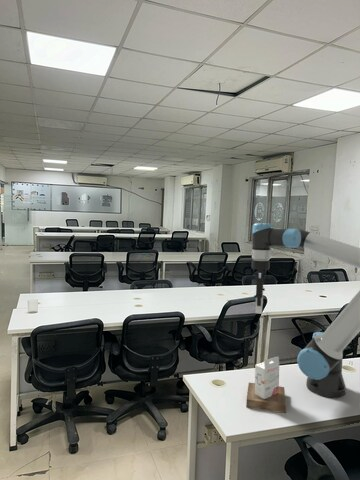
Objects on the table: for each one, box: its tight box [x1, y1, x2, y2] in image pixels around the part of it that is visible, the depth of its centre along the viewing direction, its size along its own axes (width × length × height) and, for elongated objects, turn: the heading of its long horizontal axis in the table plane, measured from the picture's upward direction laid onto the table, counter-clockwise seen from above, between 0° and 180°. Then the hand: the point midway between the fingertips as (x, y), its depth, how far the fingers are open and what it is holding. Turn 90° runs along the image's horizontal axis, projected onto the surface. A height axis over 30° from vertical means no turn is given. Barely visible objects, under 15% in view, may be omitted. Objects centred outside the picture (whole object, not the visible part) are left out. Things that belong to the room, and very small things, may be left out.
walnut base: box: [245, 382, 287, 414], centre depth 135 cm, size 14×14×3 cm
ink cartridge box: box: [254, 355, 280, 399], centre depth 134 cm, size 9×5×15 cm, turn 125°
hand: (259, 309), depth 149 cm, fingers open, 13 cm apart
